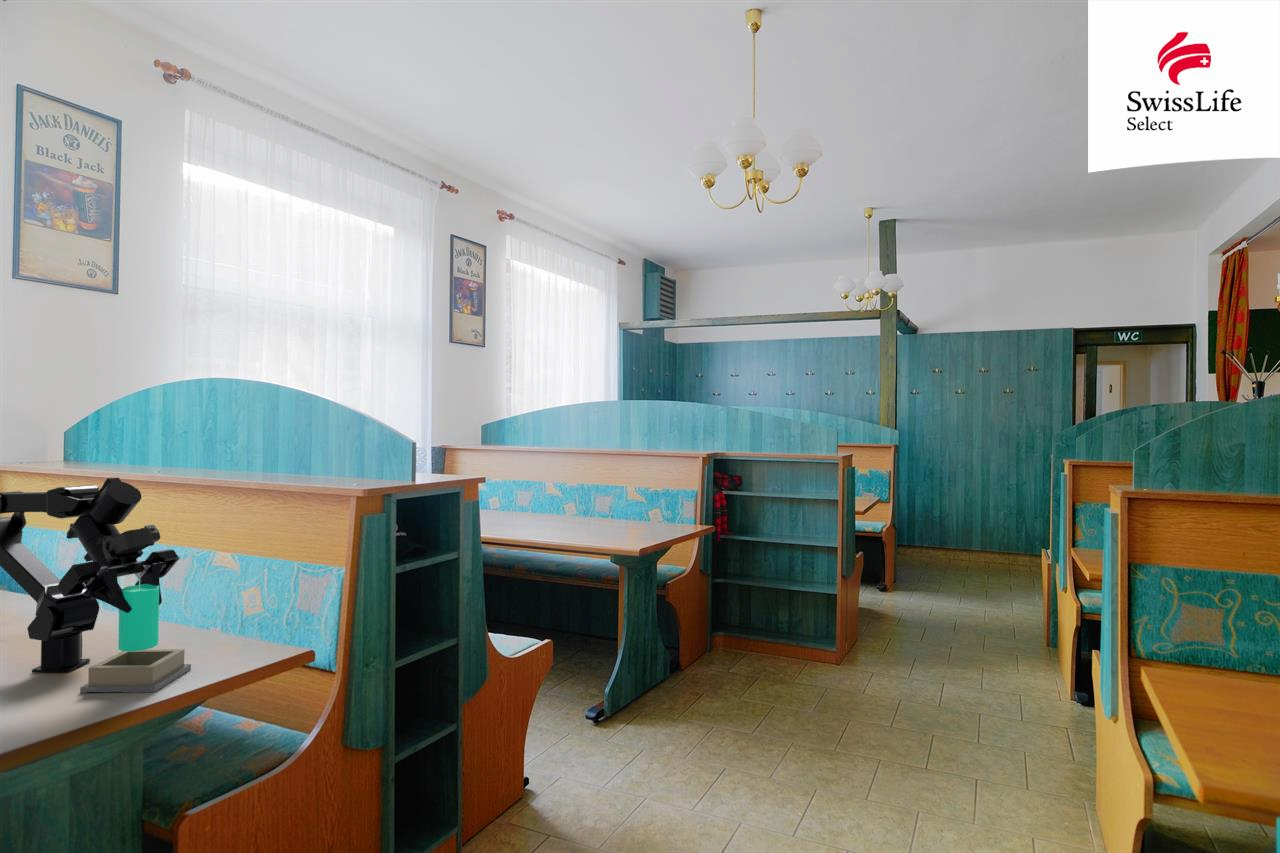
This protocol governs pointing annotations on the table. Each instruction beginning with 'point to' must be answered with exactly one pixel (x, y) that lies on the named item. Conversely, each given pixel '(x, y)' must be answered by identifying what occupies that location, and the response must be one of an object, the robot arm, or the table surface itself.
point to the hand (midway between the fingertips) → (145, 607)
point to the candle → (139, 618)
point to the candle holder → (136, 671)
